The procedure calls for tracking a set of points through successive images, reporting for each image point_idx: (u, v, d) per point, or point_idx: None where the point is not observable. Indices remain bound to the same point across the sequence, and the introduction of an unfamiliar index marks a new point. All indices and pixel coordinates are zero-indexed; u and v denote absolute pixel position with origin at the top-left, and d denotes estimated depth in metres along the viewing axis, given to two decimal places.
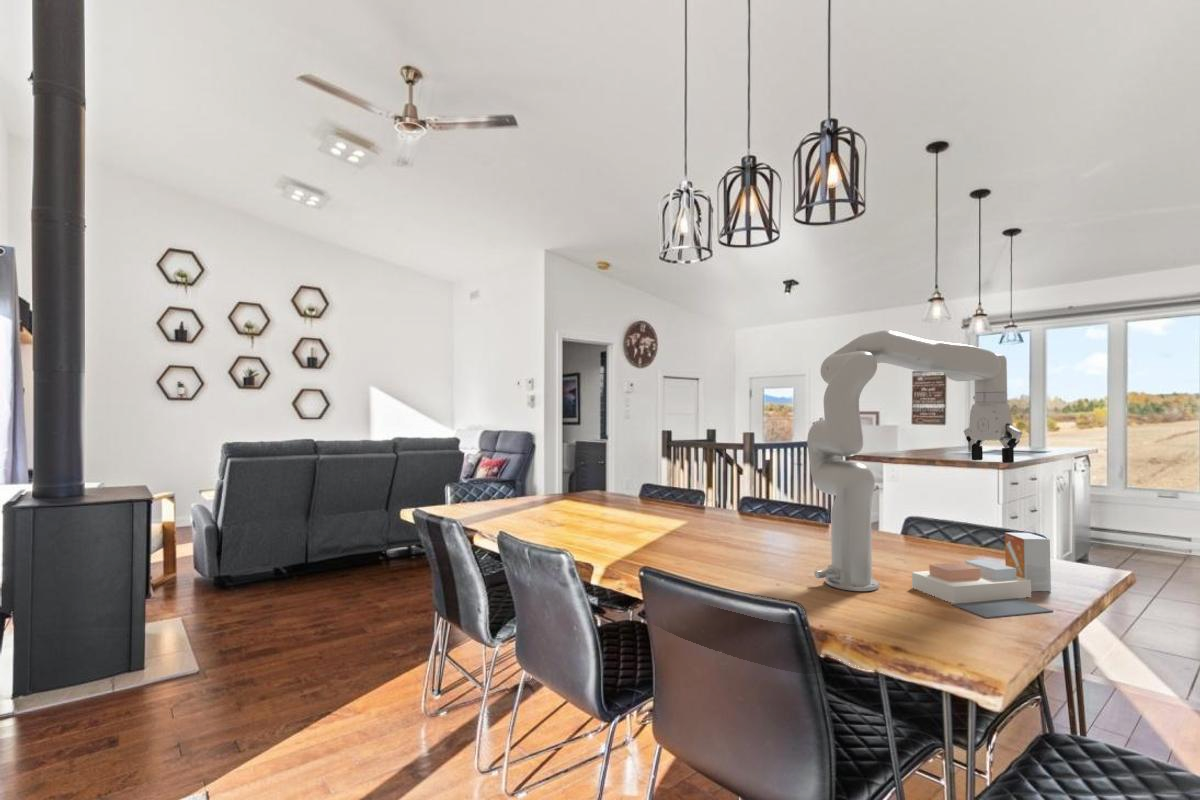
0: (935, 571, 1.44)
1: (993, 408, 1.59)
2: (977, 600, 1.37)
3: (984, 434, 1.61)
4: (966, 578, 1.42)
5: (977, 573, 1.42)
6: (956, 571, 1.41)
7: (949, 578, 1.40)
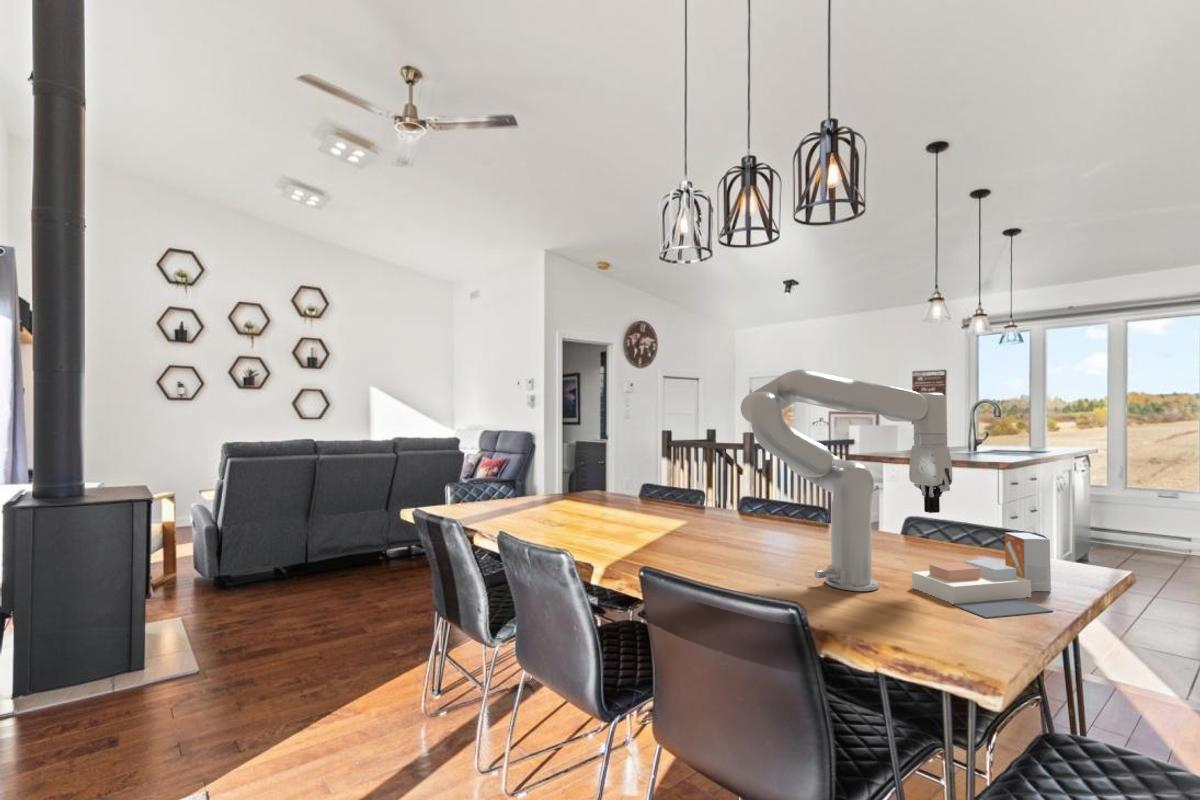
0: (935, 571, 1.44)
1: (931, 451, 1.48)
2: (977, 600, 1.37)
3: (923, 478, 1.51)
4: (966, 578, 1.42)
5: (977, 573, 1.42)
6: (956, 571, 1.41)
7: (949, 578, 1.40)
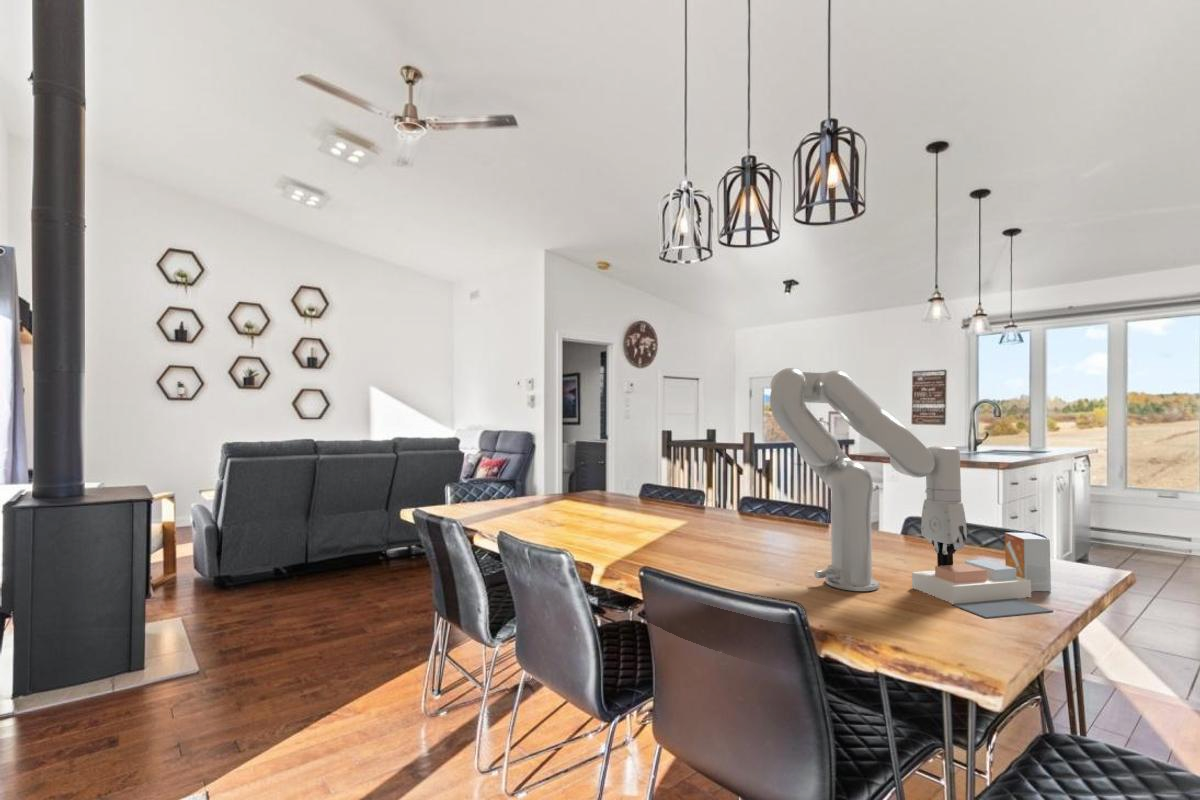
0: (941, 572, 1.43)
1: (945, 508, 1.44)
2: (977, 600, 1.37)
3: (936, 535, 1.46)
4: (973, 579, 1.40)
5: (983, 575, 1.41)
6: (962, 573, 1.39)
7: (955, 580, 1.39)
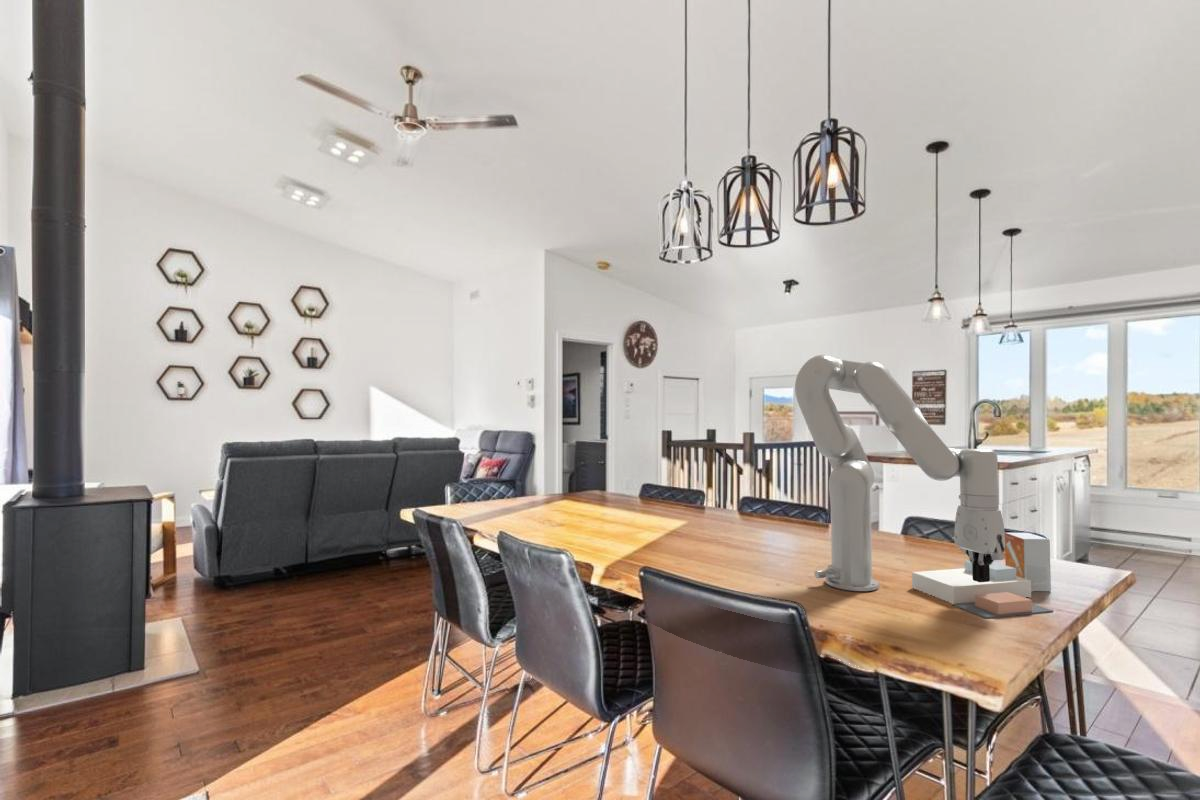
0: (990, 606, 1.30)
1: (981, 515, 1.34)
2: None
3: (971, 544, 1.36)
4: None
5: None
6: None
7: None
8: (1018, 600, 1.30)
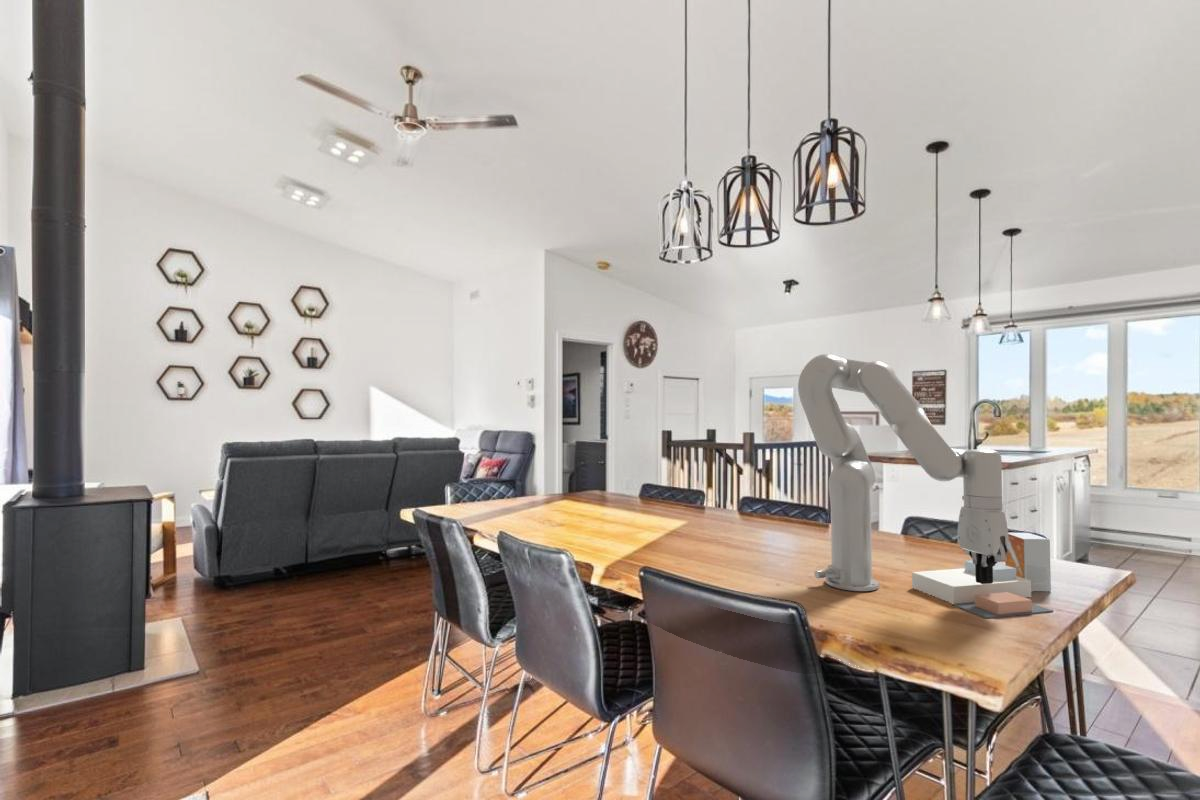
0: (990, 606, 1.30)
1: (985, 516, 1.33)
2: None
3: (975, 545, 1.35)
4: None
5: None
6: None
7: None
8: (1018, 600, 1.30)
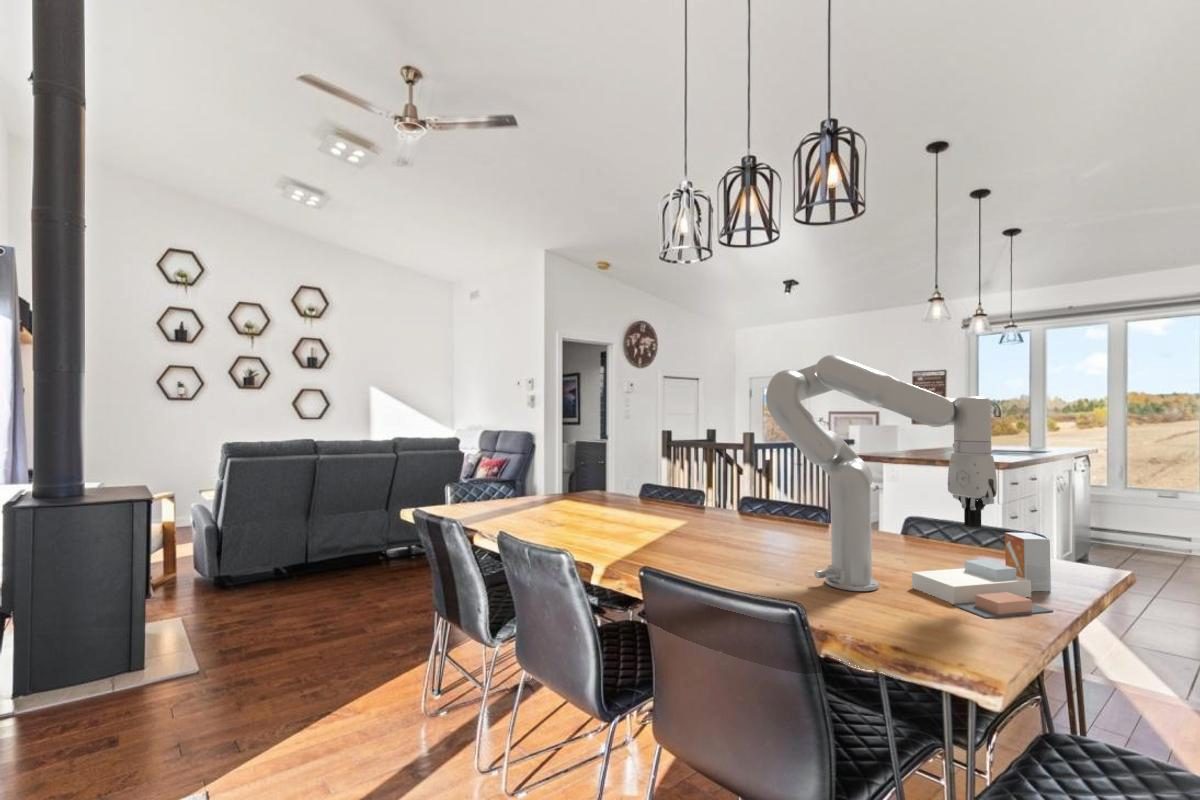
0: (990, 606, 1.30)
1: (974, 460, 1.36)
2: None
3: (964, 490, 1.38)
4: None
5: None
6: None
7: None
8: (1018, 600, 1.30)
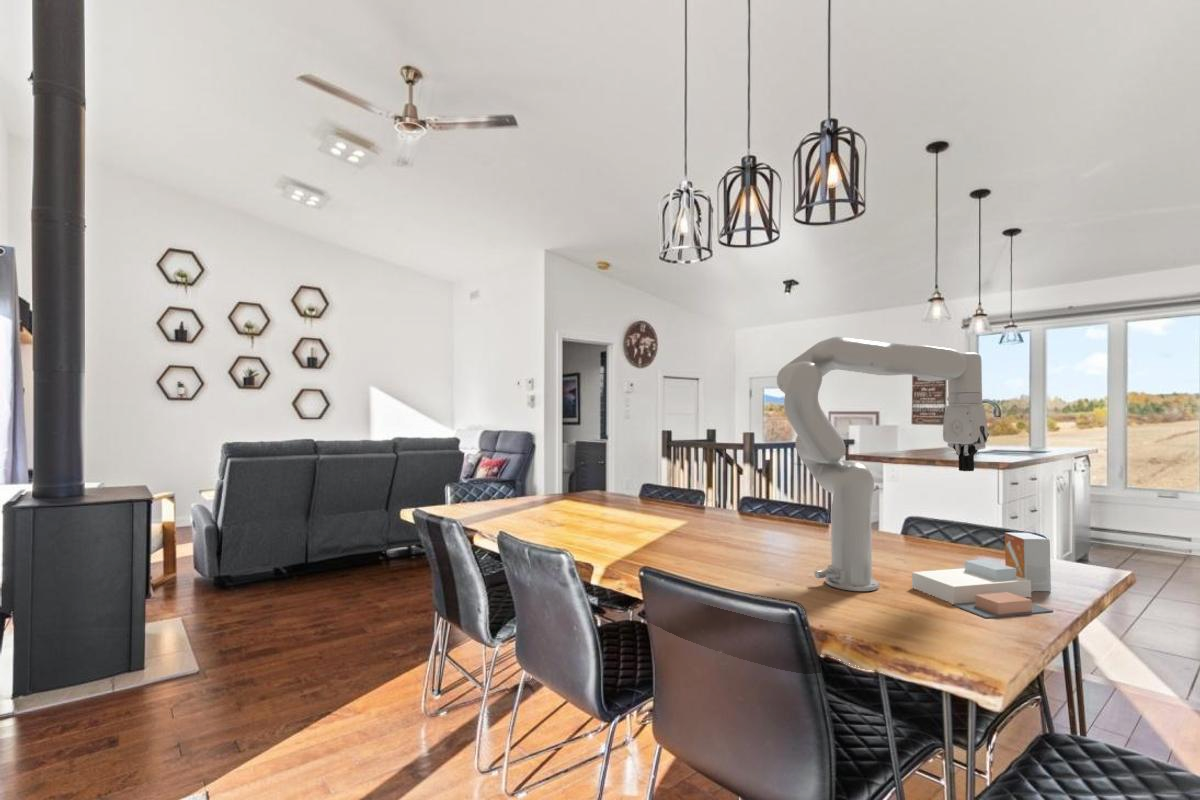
0: (990, 606, 1.30)
1: (966, 409, 1.50)
2: None
3: (958, 437, 1.52)
4: None
5: None
6: None
7: None
8: (1018, 600, 1.30)
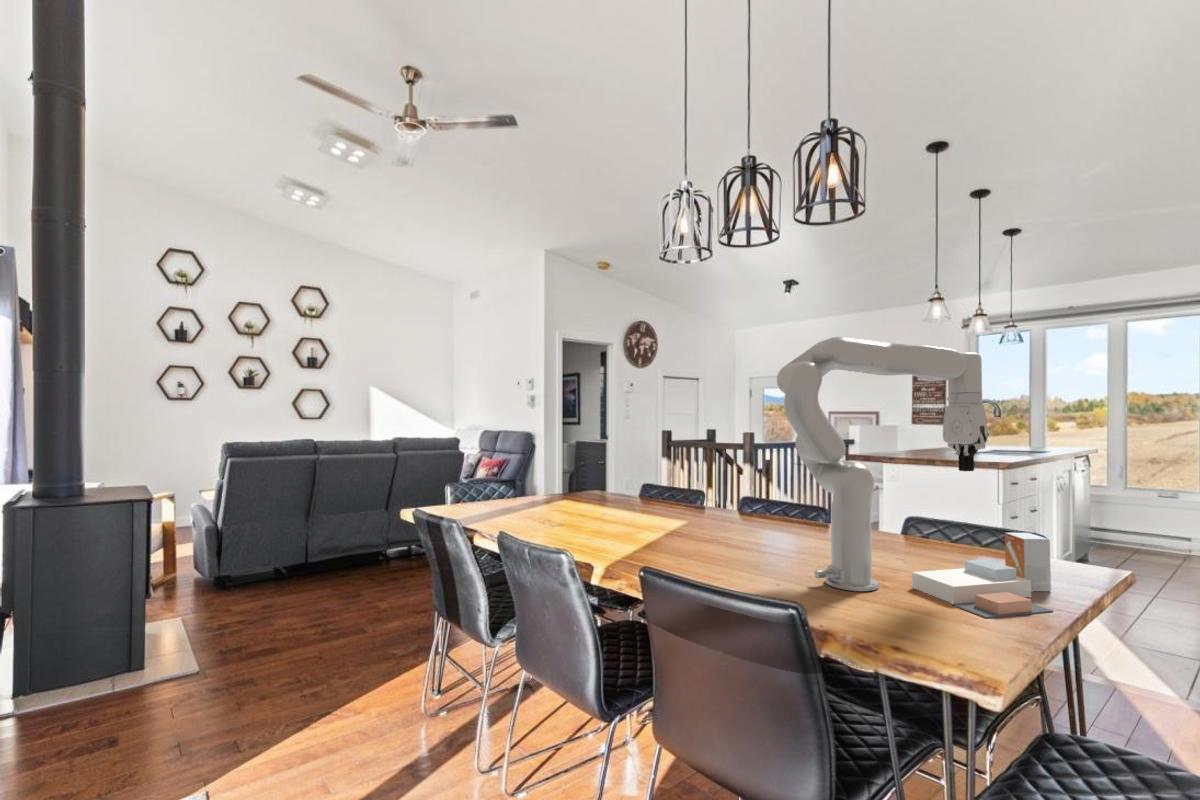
0: (990, 606, 1.30)
1: (966, 409, 1.50)
2: None
3: (958, 437, 1.52)
4: None
5: None
6: None
7: None
8: (1018, 600, 1.30)
